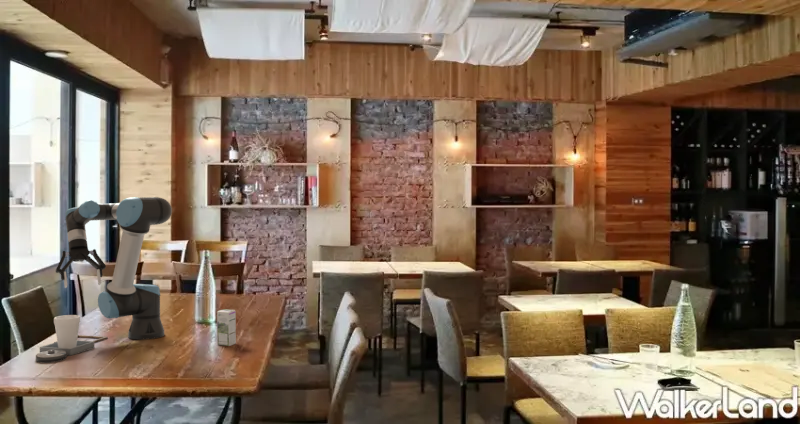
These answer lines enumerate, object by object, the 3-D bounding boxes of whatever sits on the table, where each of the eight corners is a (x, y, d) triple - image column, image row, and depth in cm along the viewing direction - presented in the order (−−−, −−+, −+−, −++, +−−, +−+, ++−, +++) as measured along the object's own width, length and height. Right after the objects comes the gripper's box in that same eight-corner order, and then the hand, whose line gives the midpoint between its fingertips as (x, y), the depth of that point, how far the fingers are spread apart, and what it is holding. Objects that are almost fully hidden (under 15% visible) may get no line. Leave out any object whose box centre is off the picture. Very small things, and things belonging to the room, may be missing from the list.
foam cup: (69, 352, 279) (69, 319, 278) (49, 351, 281) (48, 318, 280) (85, 346, 288) (84, 315, 288) (65, 345, 290) (64, 314, 289)
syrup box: (236, 343, 298) (236, 309, 298) (228, 346, 293) (228, 311, 292) (224, 342, 300) (224, 308, 300) (216, 345, 295) (216, 311, 294)
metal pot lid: (72, 357, 274) (72, 347, 273) (53, 363, 263) (53, 354, 263) (49, 355, 276) (49, 346, 276) (29, 361, 266) (29, 352, 266)
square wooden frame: (107, 338, 307) (107, 336, 307) (84, 346, 292) (84, 344, 292) (77, 336, 310) (77, 335, 310) (53, 344, 296) (53, 342, 296)
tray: (94, 347, 289) (94, 341, 289) (70, 355, 276) (70, 349, 276) (64, 345, 293) (64, 339, 293) (39, 353, 279) (39, 347, 279)
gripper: (105, 243, 324) (111, 285, 317) (45, 246, 310) (50, 291, 303) (108, 236, 319) (114, 279, 311) (47, 239, 305) (52, 284, 297)
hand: (83, 285), depth 307 cm, fingers open, 13 cm apart
